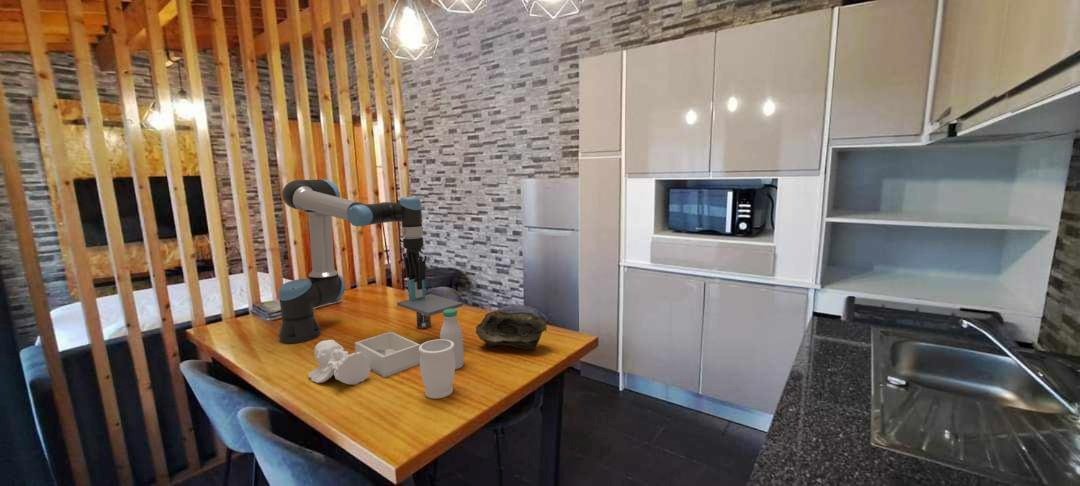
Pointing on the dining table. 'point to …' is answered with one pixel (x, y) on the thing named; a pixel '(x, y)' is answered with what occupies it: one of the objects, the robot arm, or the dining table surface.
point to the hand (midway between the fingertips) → (417, 296)
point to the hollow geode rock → (511, 329)
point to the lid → (427, 302)
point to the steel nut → (381, 352)
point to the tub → (389, 353)
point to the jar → (437, 367)
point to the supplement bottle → (423, 321)
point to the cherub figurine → (339, 364)
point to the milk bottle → (453, 335)
